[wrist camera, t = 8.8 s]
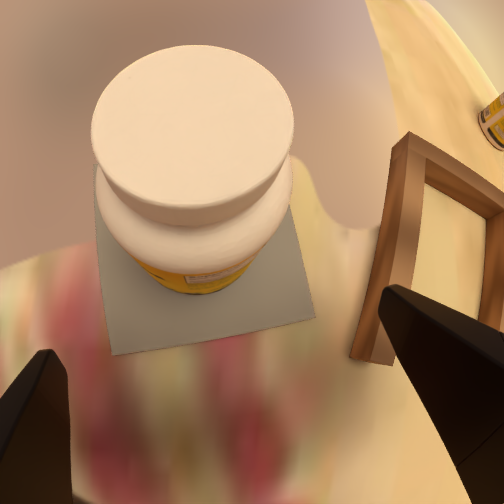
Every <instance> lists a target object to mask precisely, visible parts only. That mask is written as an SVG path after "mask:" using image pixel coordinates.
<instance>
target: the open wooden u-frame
mask: <svg viewBox="0 0 504 504" xmlns="http://www.w3.org/2000/svg"><path fill="white" fill-rule="evenodd" d="M424 182H425V183H427V184H429V185H431V186H432V187H434V188H436V189H438V190H439V191H441V192H443V193H445V194H446V195H448V196H450V197H451V198H453V199H455V200H456V201H458V202H460V203H461V204H463V205H465V206H466V207H468V208H469V209H471V210H473V211H474V212H476V213H477V214H479V215H480V216H482V217H483V218H485V219H486V252H485V267H484V279H483V288H482V297H481V305H480V312H479V319H478V321H480V322H482V323H484V324H486V325H488V326H490V327H492V328H494V329H497V330H498V331H501V332H503V333H504V193H503V192H502V191H501V190H499V189H498V188H497V187H495V186H494V185H493V184H491V183H490V182H488V181H487V180H486V179H484V178H483V177H481V176H480V175H479V174H477V173H476V172H474V171H473V170H471V169H470V168H468V167H467V166H465V165H464V164H462V163H461V162H459V161H458V160H456V159H455V158H453V157H452V156H450V155H449V154H447V153H445V152H444V151H442V150H441V149H439V148H437V147H436V146H434V145H432V144H431V143H429V142H427V141H426V140H424V139H422V138H420V137H419V136H417V135H415V134H413V133H412V132H410V131H409V132H408V133H407V134H406V135H405V136H404V137H403V138H402V139H401V140H400V141H399V142H398V143H397V144H396V145H395V146H393V147H392V151H391V160H390V168H389V176H388V183H387V190H386V197H385V203H384V209H383V216H382V221H381V227H380V232H379V237H378V243H377V248H376V253H375V258H374V262H373V267H372V272H371V276H370V281H369V285H368V289H367V294H366V298H365V302H364V306H363V310H362V314H361V318H360V321H359V325H358V329H357V333H356V336H355V340H354V343H353V347H352V350H351V354H350V357H351V358H355V359H358V360H362V361H366V362H370V363H376V364H382V365H388V366H393V363H394V359H395V355H396V354H395V351H394V349H393V347H392V345H391V342H390V340H389V338H388V336H387V334H386V331H385V329H384V327H383V325H382V323H381V321H380V318H379V316H378V305H379V301H380V297H381V293H382V290H383V288H384V287H386V286H389V285H393V284H398V285H401V286H403V287H405V288H408V289H410V290H411V285H412V279H413V273H414V267H415V261H416V255H417V248H418V241H419V233H420V225H421V216H422V206H423V194H424Z"/></svg>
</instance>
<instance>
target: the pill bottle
mask: <svg viewBox="0 0 504 504" xmlns="http://www.w3.org/2000/svg"><path fill="white" fill-rule="evenodd" d="M293 133H294V117H293V110H292V107H291V103H290V101H289V99H288V96H287V94H286V92H285V91H284V89H283V87H282V86H281V84H280V83H279V82H278V80H277V79H276V78H275V77H274V76H273V75H272V74H271V73H270V72H269V71H268V70H267V69H266V68H264V67H263V66H261V65H260V64H258V63H257V62H255V61H254V60H252V59H250V58H248V57H247V56H245V55H242V54H240V53H237V52H235V51H232V50H229V49H224V48H220V47H215V46H205V45H185V46H177V47H172V48H168V49H163V50H160V51H157V52H155V53H152V54H149V55H147V56H145V57H143V58H141V59H139V60H137V61H135V62H134V63H132V64H131V65H129V66H128V67H126V68H125V69H124V70H122V71H121V72H120V73H119V74H118V75H117V76H116V77H115V78H114V79H113V80H112V81H111V82H110V84H109V85H108V86H107V87H106V89H105V90H104V92H103V93H102V95H101V97H100V98H99V100H98V102H97V105H96V108H95V110H94V114H93V117H92V123H91V143H92V148H93V152H94V155H95V158H96V160H97V163H98V166H97V172H96V197H97V202H98V207H99V210H100V213H101V215H102V218H103V221H104V222H105V224H106V226H107V228H108V229H109V231H110V233H111V234H112V236H113V237H114V238H115V240H116V241H117V242H118V243H119V245H120V246H121V247H122V248H123V249H124V250H125V251H126V252H127V253H128V254H129V255H130V256H131V257H132V258H133V259H134V260H135V261H136V262H137V263H138V264H139V265H140V266H141V267H142V268H143V269H144V270H145V271H146V272H147V273H148V274H149V275H151V276H152V277H153V278H154V279H155V280H156V281H157V282H158V283H160V284H161V285H162V286H164V287H166V288H168V289H170V290H172V291H174V292H177V293H181V294H185V295H206V294H211V293H215V292H217V291H220V290H222V289H224V288H226V287H228V286H229V285H231V284H232V283H233V282H235V281H236V280H237V279H238V278H239V277H240V276H241V275H242V274H243V273H244V272H245V271H246V269H247V268H248V267H249V266H250V264H251V263H252V261H253V260H254V259H255V257H256V256H257V255H258V254H259V252H260V251H261V250H262V248H263V247H264V246H265V245H266V244H267V242H268V241H269V240H270V238H271V237H272V236H273V235H274V233H275V232H276V230H277V229H278V227H279V225H280V224H281V222H282V220H283V218H284V216H285V214H286V211H287V208H288V205H289V202H290V198H291V193H292V185H293V172H292V165H291V160H290V156H289V153H288V152H289V150H290V147H291V143H292V140H293Z"/></svg>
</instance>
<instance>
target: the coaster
mask: <svg viewBox="0 0 504 504" xmlns="http://www.w3.org/2000/svg"><path fill="white" fill-rule="evenodd" d="M97 166H98V164H94V208H95V227H96V241H97V253H98V263H99V273H100V281H101V290H102V297H103V304H104V311H105V317H106V324H107V329H108V335H109V341H110V346H111V351H112V356H113V355H121V354H129V353H136V352H143V351H150V350H156V349H163V348H169V347H175V346H181V345H187V344H193V343H198V342H204V341H209V340H215V339H220V338H225V337H230V336H235V335H240V334H245V333H250V332H255V331H260V330H264V329H269V328H273V327H278V326H282V325H287V324H291V323H295V322H300V321H304V320H308V319H312V318H316V317H315V313H314V308H313V303H312V299H311V294H310V290H309V285H308V281H307V276H306V272H305V268H304V263H303V259H302V255H301V250H300V246H299V242H298V238H297V234H296V229H295V225H294V221H293V217H292V213H291V209H290V205H288V208H287V211H286V214H285V216H284V218H283V220H282V222H281V224H280V225H279V227H278V229H277V230H276V232H275V233H274V235H273V236H272V237H271V238H270V240H269V241H268V242H267V244H266V245H265V246H264V247H263V248H262V250H261V251H260V252H259V254H258V255H257V256H256V257H255V259H254V260H253V261H252V263H251V264H250V266H249V267H248V268H247V269H246V271H245V272H244V273H243V274H242V275H241V276H240V277H239V278H238V279H237V280H236V281H235V282H233V283H232V284H231V285H229V286H228V287H226V288H224V289H222V290H220V291H217V292H215V293H211V294H206V295H185V294H181V293H177V292H174V291H172V290H170V289H168V288H166V287H164V286H162V285H161V284H160V283H158V282H157V281H156V280H155V279H154V278H153V277H152V276H151V275H149V274H148V273H147V272H146V271H145V270H144V269H143V268H142V267H141V266H140V265H139V264H138V263H137V262H136V261H135V260H134V259H133V258H132V257H131V256H130V255H129V254H128V253H127V252H126V251H125V250H124V249H123V248H122V247H121V246H120V245H119V243H118V242H117V241H116V240H115V238H114V237H113V236H112V234H111V233H110V231H109V229H108V228H107V226H106V224H105V222H104V221H103V218H102V215H101V213H100V210H99V207H98V202H97V197H96V172H97Z"/></svg>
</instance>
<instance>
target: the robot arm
mask: <svg viewBox="0 0 504 504" xmlns="http://www.w3.org/2000/svg"><path fill="white" fill-rule="evenodd" d="M378 316H379V318H380V321H381V323H382V325H383V327H384V329H385V331H386V334H387V336H388V338H389V340H390V342H391V345H392V347H393V349H394V351H395V354H396V356H397V358H398V360H399V361H400V363H401V365H402V367H403V369H404V370H405V372H406V374H407V376H408V378H409V379H410V381H411V383H412V385H413V386H414V388H415V390H416V392H417V394H418V396H419V397H420V399H421V401H422V403H423V405H424V407H425V408H426V410H427V412H428V414H429V416H430V418H431V420H432V422H433V424H434V426H435V427H436V429H437V431H438V433H439V435H440V437H441V439H442V441H443V443H444V445H445V447H446V449H447V451H448V453H449V455H450V457H451V459H452V461H453V463H454V465H455V467H456V470H457V472H458V474H459V476H460V479H461V481H462V483H463V485H464V487H465V489H466V492H467V494H468V496H469V498H470V500H471V503H472V504H503V503H504V333H503V332H501V331H498V330H497V329H494V328H492V327H490V326H488V325H486V324H484V323H482V322H480V321H477V320H475V319H473V318H471V317H469V316H467V315H465V314H462V313H460V312H458V311H456V310H454V309H452V308H449V307H447V306H445V305H443V304H441V303H439V302H436V301H434V300H432V299H430V298H428V297H425V296H423V295H421V294H419V293H416V292H414V291H412V290H410V289H408V288H405V287H403V286H401V285H398V284H393V285H389V286H386V287H384V288H383V290H382V293H381V297H380V301H379V305H378ZM0 504H73V498H72V483H71V456H70V414H69V398H68V376H67V372H66V369H65V367H64V366H63V364H62V363H61V361H60V359H59V358H58V356H57V355H56V353H55V352H54V351H53V350H52V349H44V350H39V351H38V352H37V353H36V354H35V355H34V356H33V357H32V359H31V360H30V361H29V362H28V364H27V365H26V366H25V367H24V369H23V370H22V371H21V372H20V374H19V375H18V376H17V377H16V379H15V380H14V381H13V382H12V384H11V385H10V386H9V388H8V389H7V390H6V392H5V393H4V394H3V396H2V397H1V398H0Z"/></svg>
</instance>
